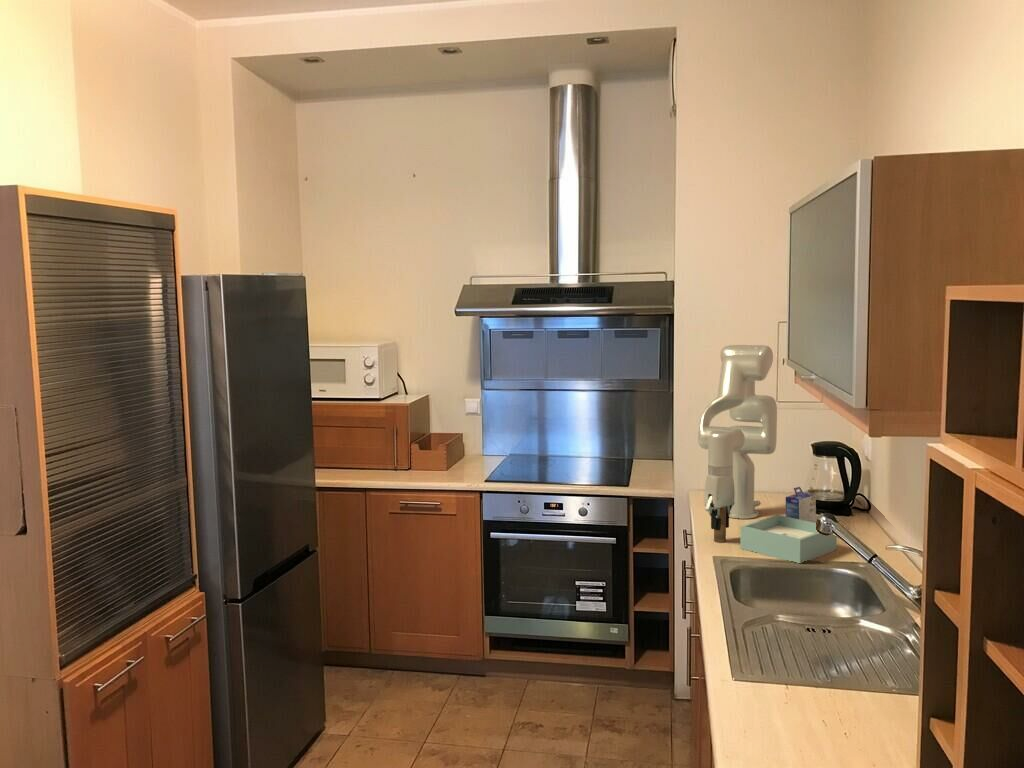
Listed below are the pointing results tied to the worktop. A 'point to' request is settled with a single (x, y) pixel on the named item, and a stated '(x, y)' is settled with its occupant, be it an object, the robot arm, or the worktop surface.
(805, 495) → the ink cartridge box
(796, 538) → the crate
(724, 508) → the peg
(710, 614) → the worktop surface
